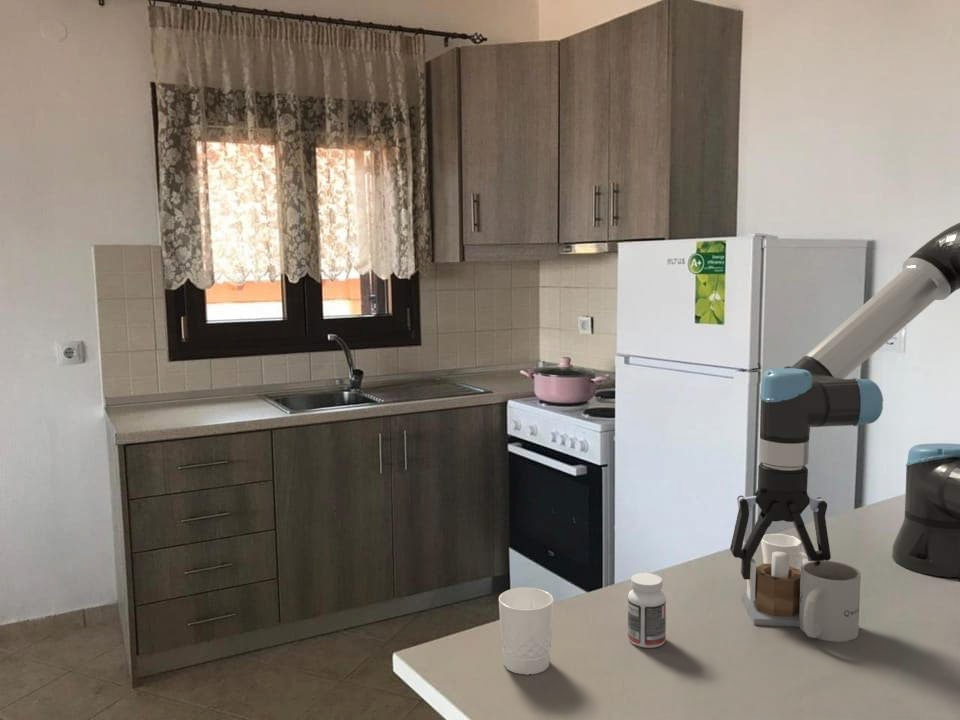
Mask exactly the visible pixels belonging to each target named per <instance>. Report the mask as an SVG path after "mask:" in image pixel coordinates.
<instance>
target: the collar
mask: <svg viewBox="0 0 960 720" xmlns="http://www.w3.org/2000/svg"><path fill="white" fill-rule="evenodd" d="M771 573H772V564H764V563H762V564H760V565H758V566H757V565H756V582H755V601H753V603H754V605H755V607H756V609H757V610H759V611H761V612H764V613H767V614H769V615H772V616H787V617H793V616H795V615H797V614H799V607H800V579H801V569H799V568H797V569H796V568H793V567H790V566H789V571H788V578H784V577H774V576H771Z"/></svg>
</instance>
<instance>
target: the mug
mask: <svg viewBox="0 0 960 720" xmlns="http://www.w3.org/2000/svg"><path fill="white" fill-rule="evenodd" d="M815 562H817V561H809V562H806V563H803V564H802V563H801V566H800V571H801V579H800V607H799V620H800V626H799V629H800V630H801V631H802V632H804V633H805V634H806V636H807V637H809V638H812V639H813V638H814V639H819V640H823V641H829V642H837V643H839V642H840V643H841V642H849V641H853V640H854V639H856V638H857V637H858V636H859V623H860V622H859V621H860V602H861V601H860V599H861V597H860V596H861V576H862V574H861V572H860V571H859V570H858V569H857V568H855V567H854V566H852V565H849V564H847V563H846V564H845V563H843V562H839V561H832V560H828V561H826V560H820V565H818V566H815V565H817V564H815ZM818 562H819V561H818ZM813 563H814V564H815V565H814V564H813Z"/></svg>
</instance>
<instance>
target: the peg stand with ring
mask: <svg viewBox="0 0 960 720" xmlns="http://www.w3.org/2000/svg"><path fill="white" fill-rule="evenodd" d="M788 571H789V554H787V553H785V552H773V553H772V573H771V576H774V577H784V578H788ZM741 601H742V603H743V605H744V607H745V609H746V611H747V613H748V616H749V618H750V620H751V622H752V624H753V625H754V626H771V627H772V626H777V627H799V626H800V620H799V614H797V615H795V616H793V617H787V616H772V615H769V614H767V613H764V612H761V611H759V610H757V609H756V607H755V605H754V603H753V601H750V599H749V597H748V595H747V592H745V593H742V592H741ZM799 628H800V627H799Z"/></svg>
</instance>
